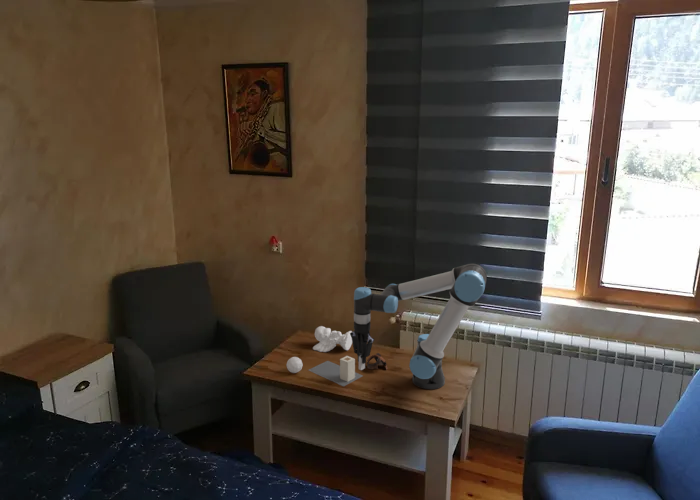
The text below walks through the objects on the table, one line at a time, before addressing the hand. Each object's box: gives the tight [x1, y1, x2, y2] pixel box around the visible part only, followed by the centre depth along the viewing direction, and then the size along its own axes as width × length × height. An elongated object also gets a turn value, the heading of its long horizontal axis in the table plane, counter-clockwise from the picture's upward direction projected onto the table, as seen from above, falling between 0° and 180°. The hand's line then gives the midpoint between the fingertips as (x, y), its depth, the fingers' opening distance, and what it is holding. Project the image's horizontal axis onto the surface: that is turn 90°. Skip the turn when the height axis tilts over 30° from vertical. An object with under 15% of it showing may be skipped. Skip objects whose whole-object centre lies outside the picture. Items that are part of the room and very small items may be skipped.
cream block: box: [339, 355, 356, 382], centre depth 257 cm, size 5×5×10 cm
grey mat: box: [308, 360, 364, 387], centre depth 264 cm, size 24×14×1 cm, turn 48°
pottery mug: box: [366, 352, 388, 371], centre depth 269 cm, size 12×10×8 cm
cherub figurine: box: [312, 325, 353, 353], centre depth 290 cm, size 13×12×20 cm
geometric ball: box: [286, 356, 303, 374], centre depth 265 cm, size 8×8×8 cm
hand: (361, 368), depth 251 cm, fingers closed
